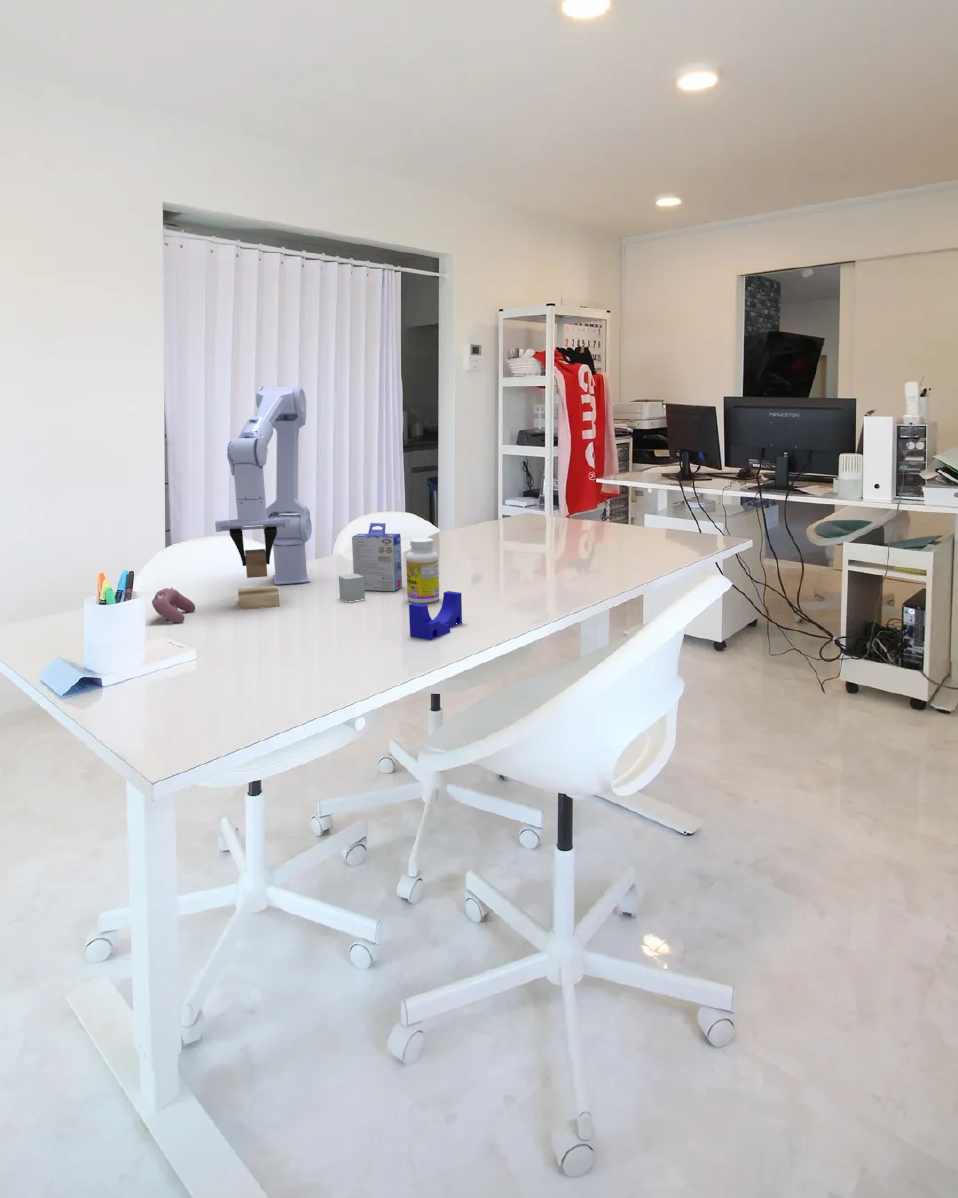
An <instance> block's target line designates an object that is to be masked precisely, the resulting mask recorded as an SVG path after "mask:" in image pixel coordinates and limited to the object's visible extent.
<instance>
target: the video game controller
mask: <svg viewBox="0 0 958 1198" xmlns="http://www.w3.org/2000/svg"><path fill="white" fill-rule="evenodd" d="M151 604H152V607H153V609H154V610H155V612H156V613H157V614H158V615H160V616H162V617H163V618H165V620H167V621H170V622H173V623H175V624H182V623H183V622H184V621H185V616H184V614H183V613H182V612H181V611H184V612H187V613H193V612H195V610H196V605H195V603H194V601H192V600H190V599H189V598H187V597H186V596H184V595H183V594H181V593H180V592H179V591H178V590H177V589H174V588H173V587H170V588H163V589H160V590H158V591H157V592H156V593H155V595H154V598H153V599H152V600H151ZM180 610H181V611H180Z"/></svg>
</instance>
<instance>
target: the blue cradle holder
mask: <svg viewBox="0 0 958 1198" xmlns="http://www.w3.org/2000/svg"><path fill="white" fill-rule="evenodd" d="M442 597H443V599H442V604H441V608H440V610H439V611H438V613H437V615H436V616H435V617H434V618H433V619H432V617H431V614H430V612H429V605H428V604H426V603H413V602H411V603H410V604H408V613H409V614H408V615H409V617H408V619H409V636H410V637H411V638H417V639H421V640H427V641H432V640H434V639H437V638H439V637H441V636H444V635H446V634H449V633H450V632H451V628H454V627H456V626H458V625H457V624H459V625H461V624H462V623H463V611H462V610H463V607H462V605H463V603H462V592H458V591H450V590H447V591H444V592H443V596H442ZM456 623H457V624H456ZM460 623H461V624H460ZM453 626H454V627H453Z"/></svg>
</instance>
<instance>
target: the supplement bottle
mask: <svg viewBox="0 0 958 1198" xmlns="http://www.w3.org/2000/svg"><path fill="white" fill-rule="evenodd" d="M409 546H410V548H411V551H409V552H408V553H407V554H406V557H405V558H406V560H405V561H406V594H407V600H408V601H409V602H411V603H418V604H431V603H435V602H437V601H438V600H439V598H440V580H439V579H440V578H439V577H440V576H439V575H440V572H439V555H438V553H437V552H436V551H435V550H434V549H433V547H434V539H433V538H429V537H419V538H417V537H415V538H412V539H410V545H409Z"/></svg>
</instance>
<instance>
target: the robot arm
mask: <svg viewBox="0 0 958 1198" xmlns="http://www.w3.org/2000/svg"><path fill="white" fill-rule="evenodd" d="M255 393H256V395H255V402H256V408H257V411H256V414H255V416H250V418H249V419H248V420H247V421H246V422H245V424H244V426H243V428H242V429H241V431H240V433H239V435H238V437H234V438H233V439H232V440H229V441H228V443H227V449H226V450H227V451H226V452H227V453H226V457H227V461H228V463H229V467H230V473H231V476H233V479H234V492H235V502H236V503H235V504H236V514H237V519H227V520H216V521H215V523H214V525H215V532H216V533H221V532H228V531H229V536H230V537H231V539H232V540H233V541H232V542H233V543H234V544H235V547H236V550H237V551H238V554H239V556H240V558H241V564H242V566H243V567H246V558H245V547H244V537H243V531H246V530H249V531H250V530H263V534H264V545H265V548H264V549H265V552H266V564H267V565H270V563H271V562H270V561H271V552H272V548H273V561H274V563H273V564H274V574H273V575H272V578H273V582H274V586H278V585H290V584H300V583H301V584H302V583H303V584H304V583H310V582H311V579H310V577H309V575H308V571H307V570H308V569H307V568H308V567H307V559H306V558H307V555H306V543H307V542H309V540H310V539H311V535H312V527H313V526H312V521H311V520H312V519H311V512H310V509H309V508H308V507H307V506H306V505H304V504H303V503H302V502H301V501H299V436H300V435H299V434H300V428H301V429H302V427H304V426H305V425H306V421H307V399H306V393H305V391H304V389H303V388H302V387H301V386H300V385H295V386H260V387H258V389H257V391H256V392H255ZM274 430H275V431H276V498H275V500H274V502H272V503H271V504H270V505H268V506H267V501H266V491H265V490H266V489H265V488H266V487H265V478H264V477H265V475H264V467H265V465H266V464H267V456H268V451H269V449H268V445H269V443H270V442H271V439H272V436H273V435H274Z"/></svg>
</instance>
